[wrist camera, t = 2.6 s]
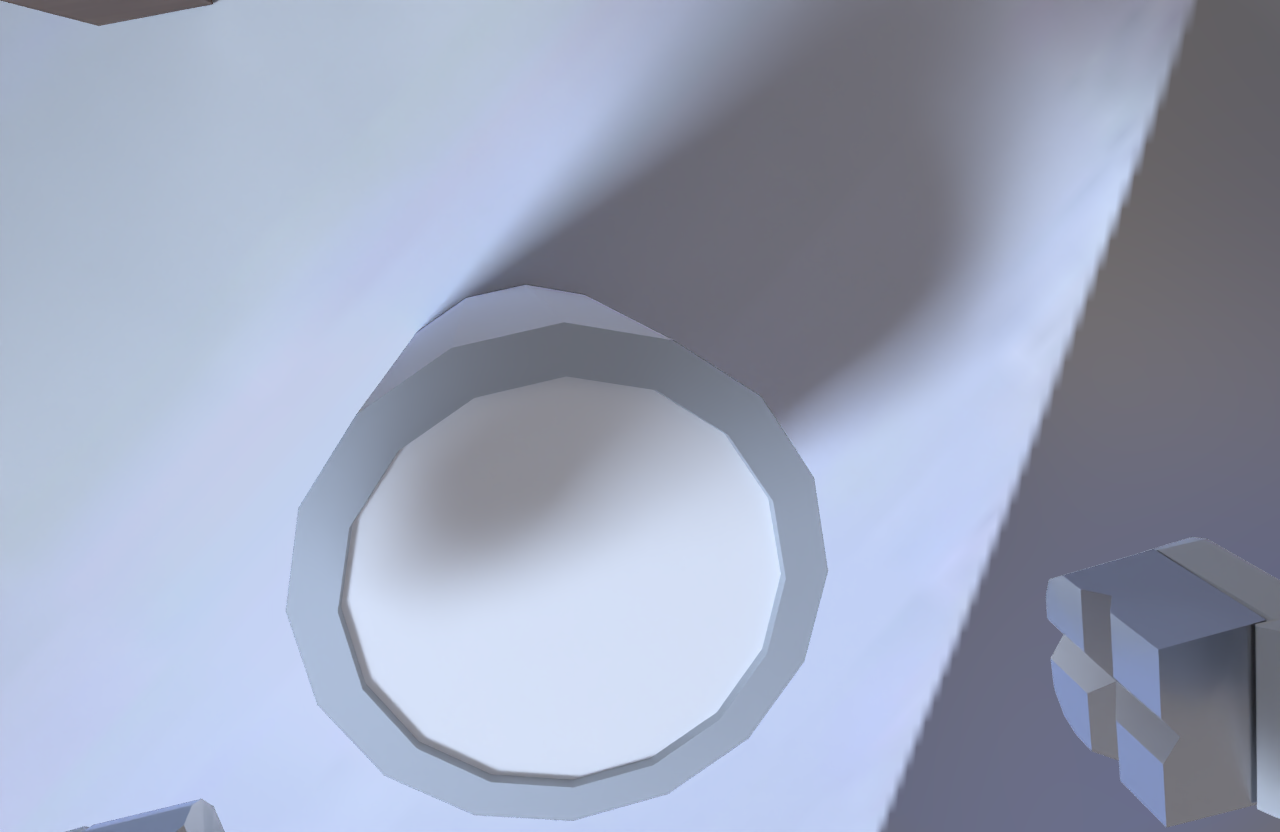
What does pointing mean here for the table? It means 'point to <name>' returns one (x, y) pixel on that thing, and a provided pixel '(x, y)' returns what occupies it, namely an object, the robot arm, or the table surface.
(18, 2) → the wooden stool
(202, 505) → the table surface
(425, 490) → the white cup
